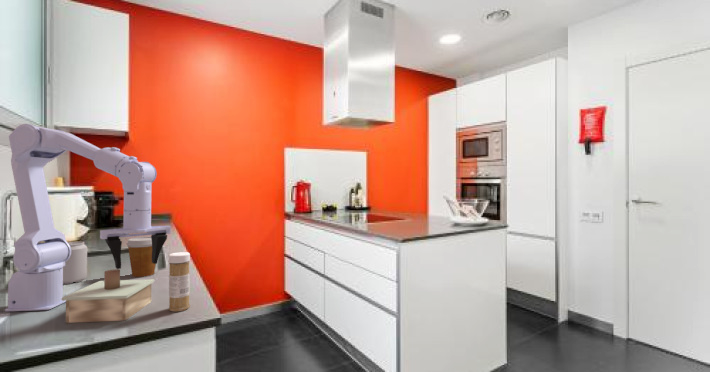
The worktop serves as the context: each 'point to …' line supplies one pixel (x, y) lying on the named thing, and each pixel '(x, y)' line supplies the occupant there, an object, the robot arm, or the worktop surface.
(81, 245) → the can
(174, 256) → the sprinkles bottle
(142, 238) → the disposable coffee cup
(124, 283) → the lid
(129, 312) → the box
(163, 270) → the worktop surface
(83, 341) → the worktop surface
